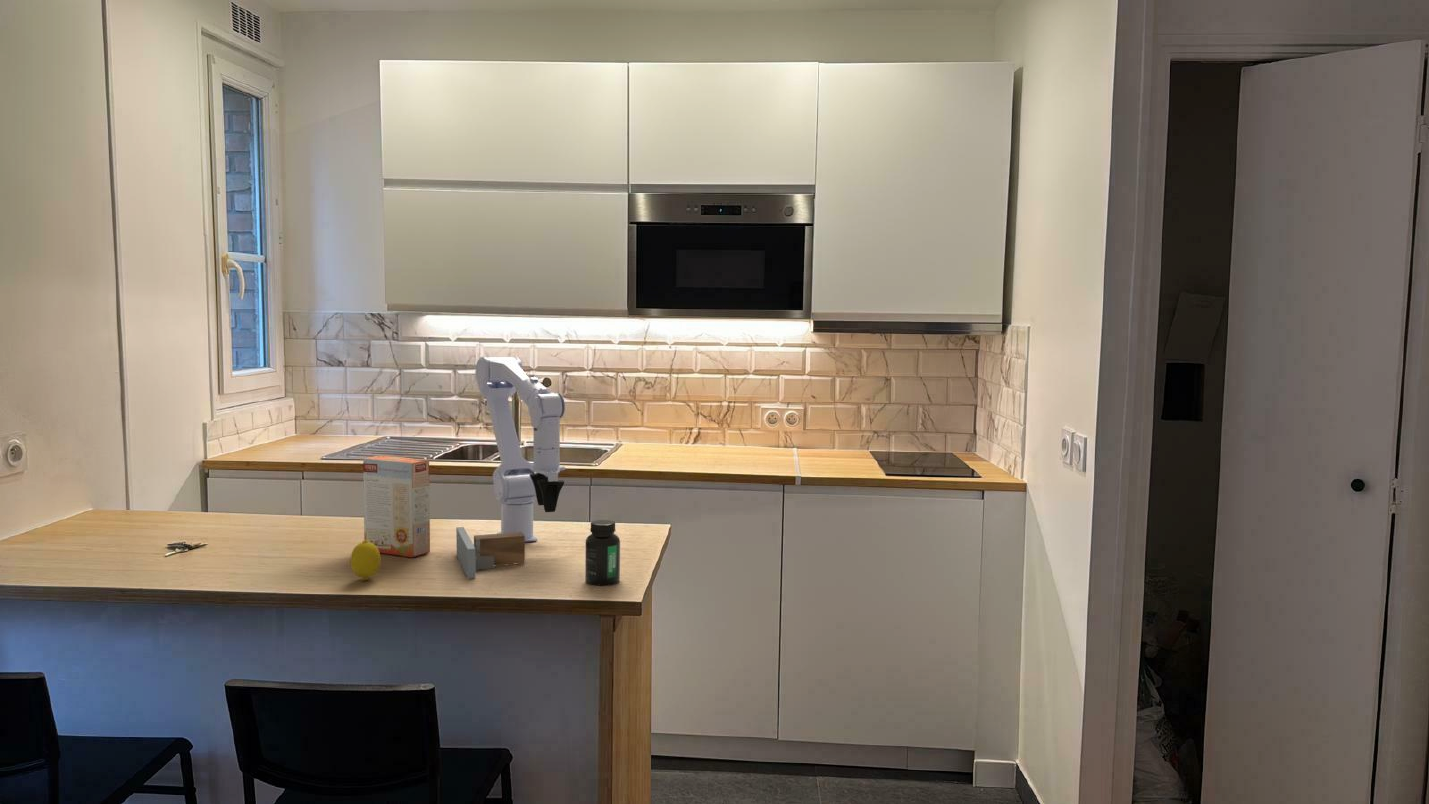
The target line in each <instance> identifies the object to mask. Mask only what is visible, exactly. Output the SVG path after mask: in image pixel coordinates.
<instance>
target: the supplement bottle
mask: <svg viewBox="0 0 1429 804" xmlns="http://www.w3.org/2000/svg"><path fill="white" fill-rule="evenodd" d="M589 532H590V533H591V534H590V535H588V536H587V537H586V539H585V559H584V560H585V561H584V562H585V564H584V565H585V569H584V570H585V571H584V574H585V581H586V583H587V584H589V585H592V586H597V585H598V586H600V587H601V586H602V587H604V586H606V587H607V586H611V585H615V584H617V583H618V582H619V581H620V578H621V577H620V576H621V575H620V574H621V540H620V537H619V536H618V535H617V534H616V533H615V532H616V522H615V521H614V520H610V519H597V520H596V519H595V520H592V521H591V522H590V528H589Z"/></svg>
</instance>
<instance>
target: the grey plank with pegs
mask: <svg viewBox="0 0 1429 804" xmlns="http://www.w3.org/2000/svg"><path fill="white" fill-rule="evenodd" d="M455 532H456V556H457V558H458V561H459V562H460V564H461V567H462V569H463V571H464V573H465V575H466V577H468V578H469V579H475V578H476V577H477V576H476V571H480V570H479V569H484V570H495V566H494V556H493V555H488V556H476V553H475V547H474V542H472V540H471V538H470V536H469V534H468V533H467V531H466V529H465V527H464V526H457V527H456V531H455ZM468 578H467V579H468ZM476 579H477V578H476Z"/></svg>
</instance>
